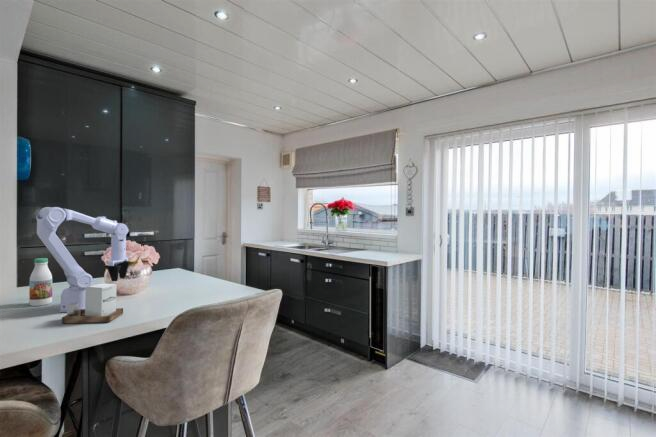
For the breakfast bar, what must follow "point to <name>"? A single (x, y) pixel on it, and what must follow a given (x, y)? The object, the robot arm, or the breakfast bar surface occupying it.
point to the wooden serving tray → (75, 317)
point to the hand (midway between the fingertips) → (118, 279)
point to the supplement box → (100, 299)
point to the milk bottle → (40, 284)
